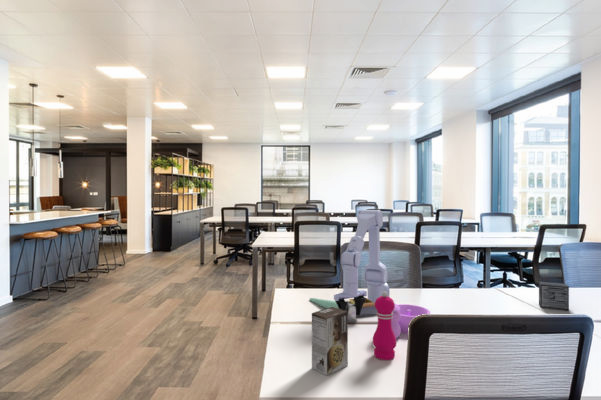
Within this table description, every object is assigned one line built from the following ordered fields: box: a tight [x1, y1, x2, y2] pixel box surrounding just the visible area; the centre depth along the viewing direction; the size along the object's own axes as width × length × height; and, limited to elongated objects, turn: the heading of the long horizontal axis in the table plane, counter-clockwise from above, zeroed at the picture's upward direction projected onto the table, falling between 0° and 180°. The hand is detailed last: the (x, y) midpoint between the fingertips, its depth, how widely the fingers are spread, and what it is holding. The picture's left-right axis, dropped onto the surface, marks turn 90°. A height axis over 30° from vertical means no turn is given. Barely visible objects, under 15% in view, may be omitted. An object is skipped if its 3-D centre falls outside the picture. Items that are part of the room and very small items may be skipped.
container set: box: [391, 298, 431, 339], centre depth 140 cm, size 25×15×13 cm, turn 136°
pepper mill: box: [372, 291, 397, 361], centre depth 118 cm, size 7×7×20 cm
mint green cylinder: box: [309, 297, 338, 309], centre depth 167 cm, size 5×6×27 cm
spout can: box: [345, 300, 357, 323], centre depth 151 cm, size 4×4×8 cm
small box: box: [538, 281, 570, 311], centre depth 168 cm, size 11×6×10 cm, turn 65°
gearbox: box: [348, 297, 377, 318], centre depth 161 cm, size 12×10×5 cm
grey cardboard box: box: [311, 307, 349, 376], centre depth 110 cm, size 9×6×16 cm
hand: (350, 316), depth 151 cm, fingers open, 6 cm apart
